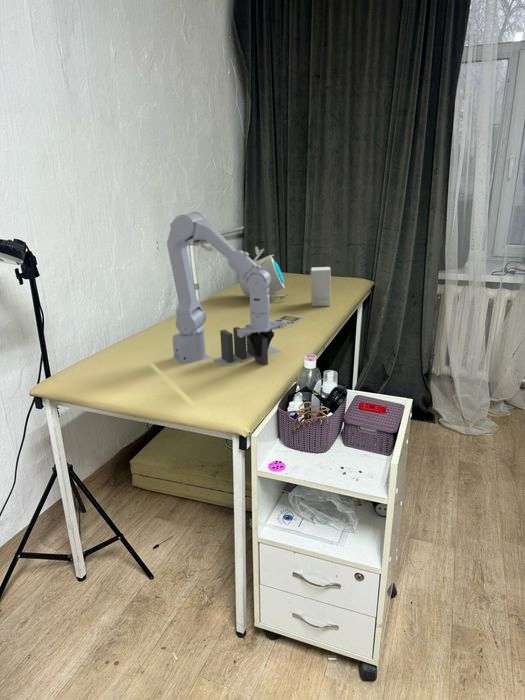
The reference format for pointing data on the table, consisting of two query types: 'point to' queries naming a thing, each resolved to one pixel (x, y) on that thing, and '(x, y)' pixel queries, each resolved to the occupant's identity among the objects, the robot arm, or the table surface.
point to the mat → (236, 359)
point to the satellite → (274, 271)
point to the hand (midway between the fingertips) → (261, 355)
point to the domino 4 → (263, 352)
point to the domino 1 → (227, 346)
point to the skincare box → (320, 286)
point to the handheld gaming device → (289, 319)
